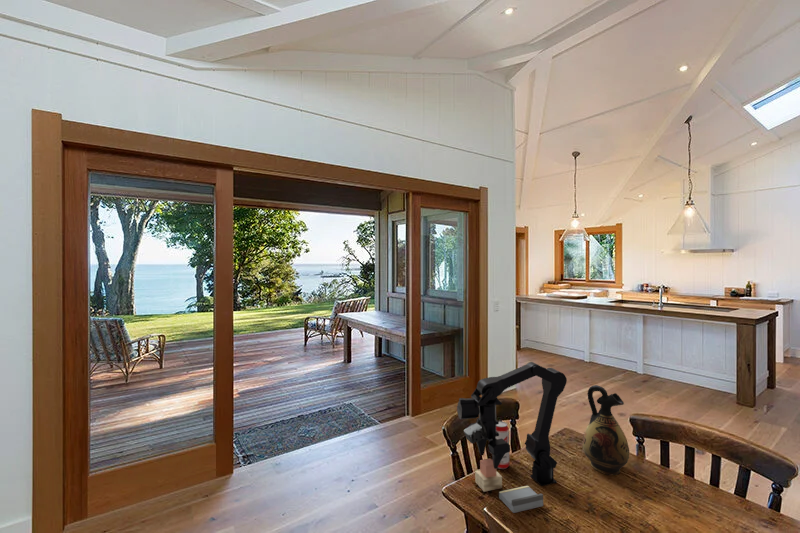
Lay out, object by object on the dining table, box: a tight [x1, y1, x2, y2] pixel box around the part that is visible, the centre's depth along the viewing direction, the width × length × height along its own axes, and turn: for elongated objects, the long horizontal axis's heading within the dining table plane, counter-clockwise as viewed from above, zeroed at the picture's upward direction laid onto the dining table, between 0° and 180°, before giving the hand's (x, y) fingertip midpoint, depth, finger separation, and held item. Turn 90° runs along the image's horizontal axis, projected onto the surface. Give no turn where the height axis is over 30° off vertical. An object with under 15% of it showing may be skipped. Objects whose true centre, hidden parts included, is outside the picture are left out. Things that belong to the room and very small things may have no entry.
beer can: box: [496, 420, 510, 470], centre depth 140 cm, size 6×6×16 cm
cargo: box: [479, 458, 497, 478], centre depth 128 cm, size 4×4×4 cm
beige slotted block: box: [474, 469, 503, 493], centre depth 128 cm, size 7×6×4 cm
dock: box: [498, 485, 544, 514], centre depth 118 cm, size 11×8×4 cm
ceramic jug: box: [582, 384, 631, 476], centre depth 138 cm, size 17×15×30 cm
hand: (488, 461), depth 128 cm, fingers open, 9 cm apart
